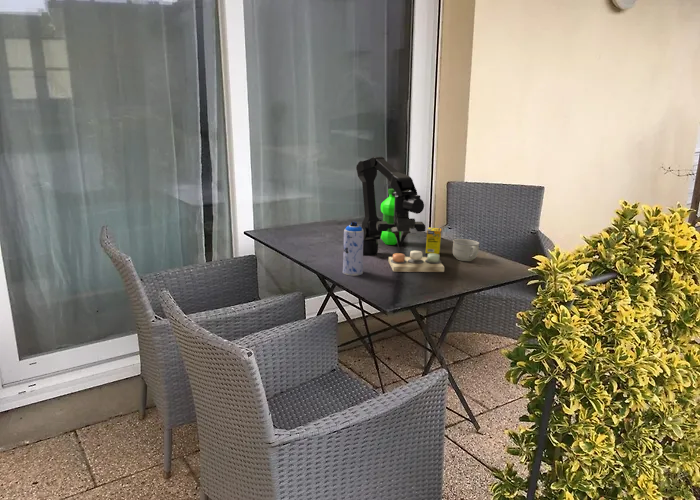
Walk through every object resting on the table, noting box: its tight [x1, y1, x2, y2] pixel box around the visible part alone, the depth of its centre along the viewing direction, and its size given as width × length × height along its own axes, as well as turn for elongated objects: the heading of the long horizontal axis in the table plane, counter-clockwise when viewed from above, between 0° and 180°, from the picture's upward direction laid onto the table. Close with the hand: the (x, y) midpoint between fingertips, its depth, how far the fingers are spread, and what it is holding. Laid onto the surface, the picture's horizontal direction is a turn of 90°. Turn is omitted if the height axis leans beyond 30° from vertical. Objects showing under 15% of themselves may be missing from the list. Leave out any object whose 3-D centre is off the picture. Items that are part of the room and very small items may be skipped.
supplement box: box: [425, 227, 442, 256], centre depth 259 cm, size 6×6×11 cm
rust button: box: [392, 252, 406, 262], centre depth 240 cm, size 5×5×2 cm
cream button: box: [409, 250, 423, 260], centre depth 240 cm, size 5×5×2 cm
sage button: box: [426, 253, 440, 262], centre depth 241 cm, size 5×5×2 cm
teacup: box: [452, 238, 480, 262], centre depth 251 cm, size 14×11×8 cm
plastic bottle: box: [380, 188, 401, 246], centre depth 272 cm, size 10×10×25 cm
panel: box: [388, 256, 445, 273], centre depth 241 cm, size 20×14×2 cm
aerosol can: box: [342, 220, 364, 277], centre depth 229 cm, size 8×8×20 cm
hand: (399, 247), depth 238 cm, fingers closed
